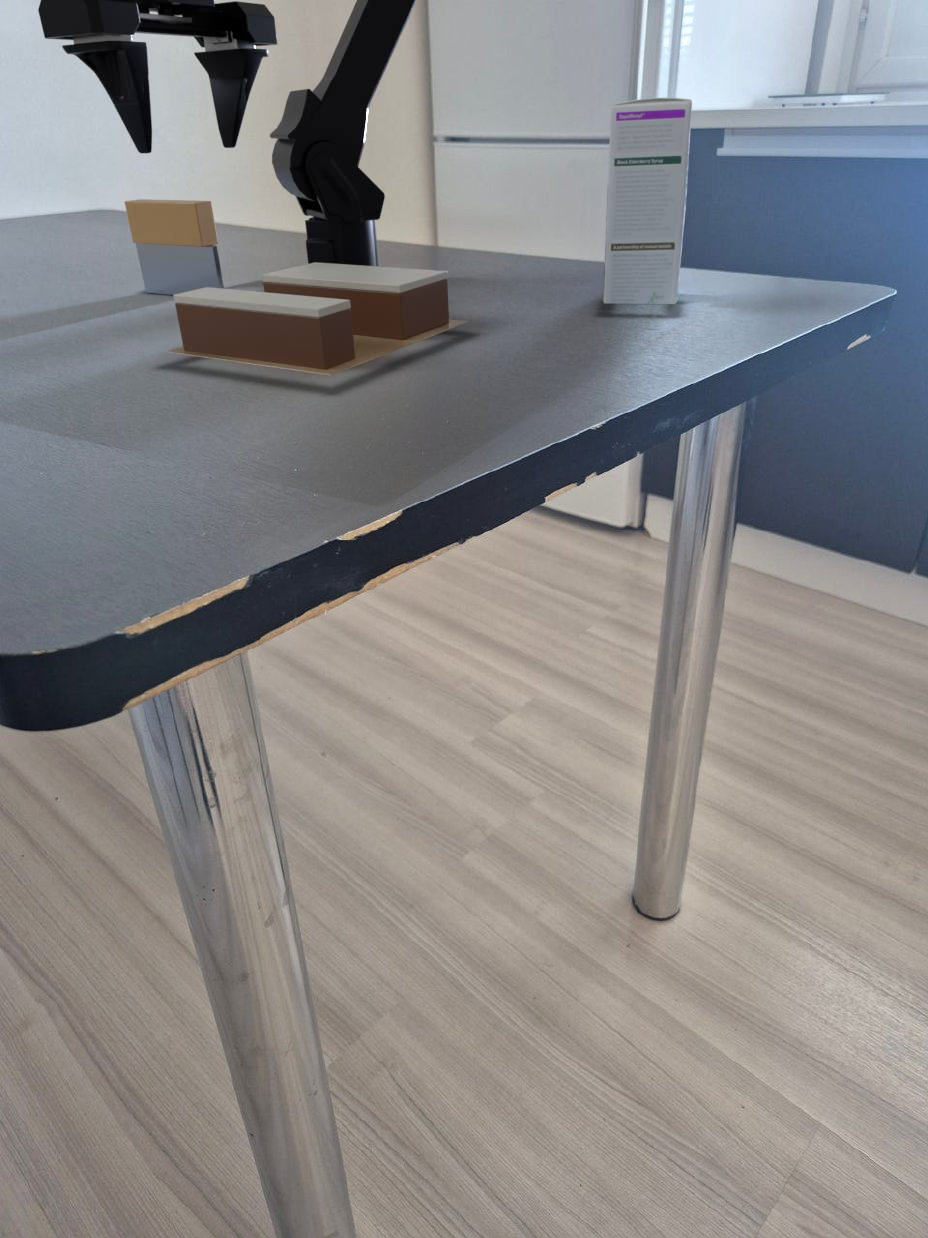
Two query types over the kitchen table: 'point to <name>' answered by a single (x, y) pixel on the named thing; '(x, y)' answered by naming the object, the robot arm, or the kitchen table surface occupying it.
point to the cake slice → (266, 326)
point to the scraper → (175, 244)
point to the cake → (372, 295)
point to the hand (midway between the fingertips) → (189, 150)
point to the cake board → (364, 352)
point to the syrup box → (646, 200)
